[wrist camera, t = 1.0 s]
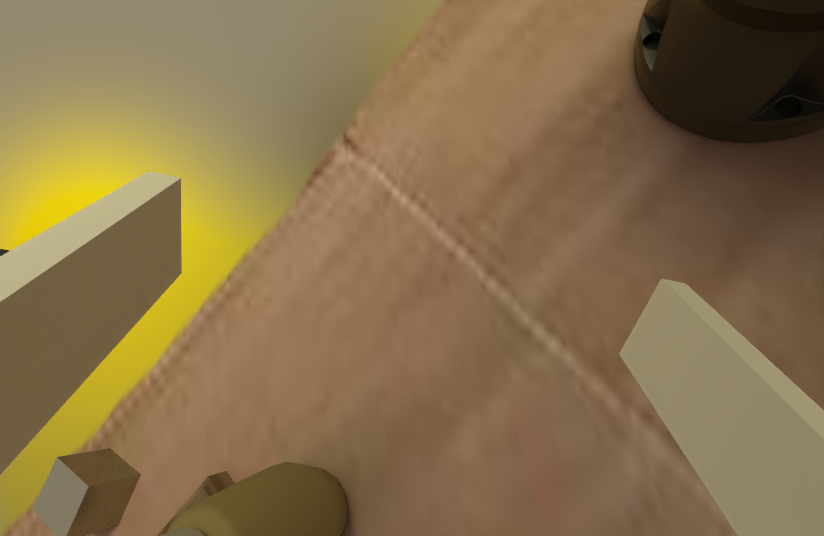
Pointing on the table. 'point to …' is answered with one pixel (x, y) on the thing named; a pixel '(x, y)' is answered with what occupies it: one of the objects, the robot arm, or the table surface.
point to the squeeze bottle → (269, 506)
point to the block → (86, 493)
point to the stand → (205, 492)
